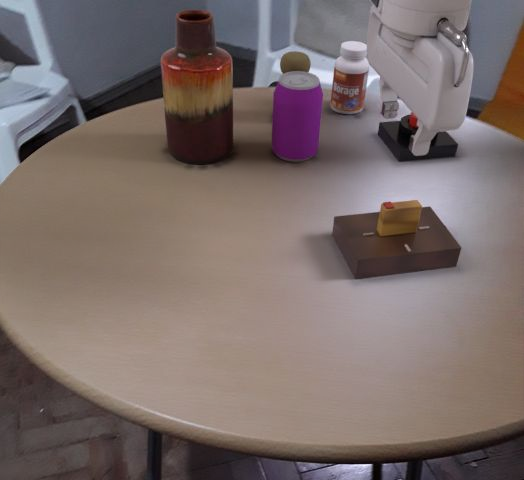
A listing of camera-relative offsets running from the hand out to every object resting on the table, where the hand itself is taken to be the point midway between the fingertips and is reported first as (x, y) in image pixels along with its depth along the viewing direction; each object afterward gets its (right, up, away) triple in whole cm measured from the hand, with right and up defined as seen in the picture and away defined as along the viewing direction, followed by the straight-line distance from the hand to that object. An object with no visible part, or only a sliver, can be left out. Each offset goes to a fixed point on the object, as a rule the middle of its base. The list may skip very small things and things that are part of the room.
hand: (402, 133), depth 74 cm
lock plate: (+1, -12, +11) cm, 16 cm away
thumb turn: (+1, -10, +9) cm, 13 cm away
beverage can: (-11, +7, +30) cm, 33 cm away
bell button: (+10, +12, +30) cm, 34 cm away
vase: (-27, +8, +30) cm, 41 cm away
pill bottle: (-1, +19, +43) cm, 47 cm away
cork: (-11, +16, +40) cm, 44 cm away
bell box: (+10, +9, +33) cm, 35 cm away
